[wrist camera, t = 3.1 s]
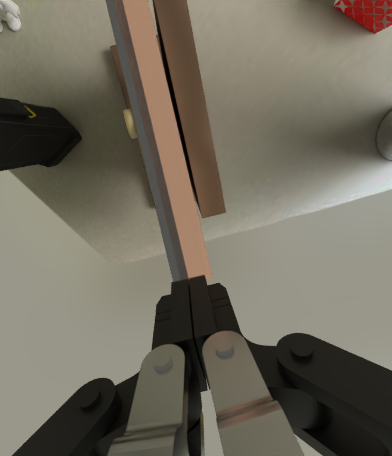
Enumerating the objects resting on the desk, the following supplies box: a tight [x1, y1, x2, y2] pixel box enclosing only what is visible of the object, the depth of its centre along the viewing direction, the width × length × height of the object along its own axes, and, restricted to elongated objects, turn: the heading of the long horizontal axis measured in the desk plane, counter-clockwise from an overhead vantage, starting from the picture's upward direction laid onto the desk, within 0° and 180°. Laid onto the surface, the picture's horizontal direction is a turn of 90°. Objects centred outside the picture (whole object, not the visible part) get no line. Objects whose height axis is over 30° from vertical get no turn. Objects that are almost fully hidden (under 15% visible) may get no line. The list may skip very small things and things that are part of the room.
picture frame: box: [106, 0, 213, 282], centre depth 24 cm, size 3×22×16 cm, turn 13°
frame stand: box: [110, 0, 226, 218], centre depth 29 cm, size 10×24×24 cm, turn 13°
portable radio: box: [0, 98, 82, 171], centre depth 27 cm, size 8×6×25 cm
